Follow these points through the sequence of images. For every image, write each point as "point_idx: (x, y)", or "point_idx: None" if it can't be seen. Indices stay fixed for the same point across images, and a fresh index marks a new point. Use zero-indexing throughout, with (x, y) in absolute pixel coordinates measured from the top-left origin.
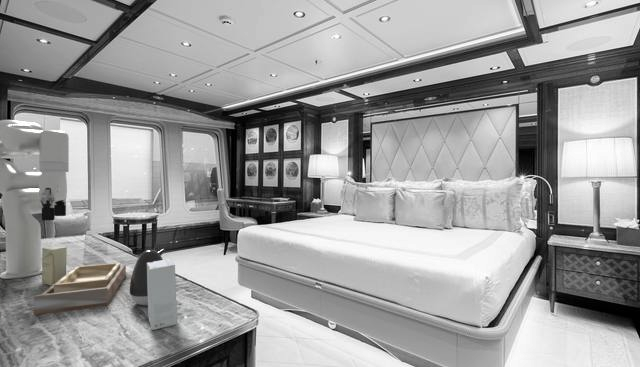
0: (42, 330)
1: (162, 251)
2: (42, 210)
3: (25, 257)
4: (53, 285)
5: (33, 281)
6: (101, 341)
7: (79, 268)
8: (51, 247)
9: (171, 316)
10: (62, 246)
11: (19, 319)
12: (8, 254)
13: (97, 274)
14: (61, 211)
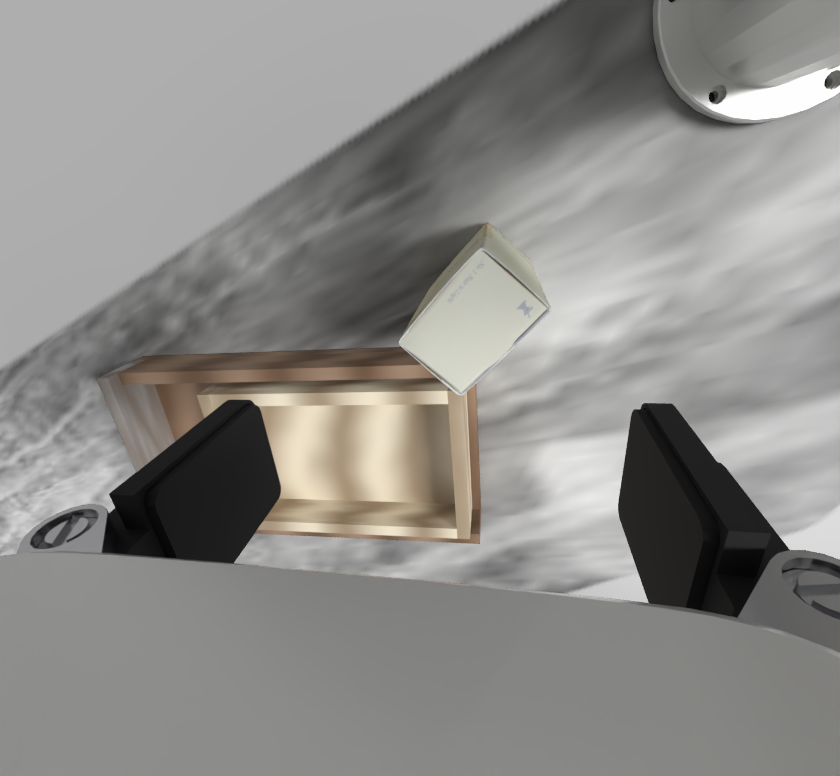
0: (67, 410)
1: None
2: (144, 477)
3: None
4: (242, 373)
5: (542, 157)
6: (37, 519)
7: (448, 402)
8: (474, 308)
9: None
10: (495, 364)
11: (120, 329)
12: None
13: (445, 448)
14: (642, 526)
